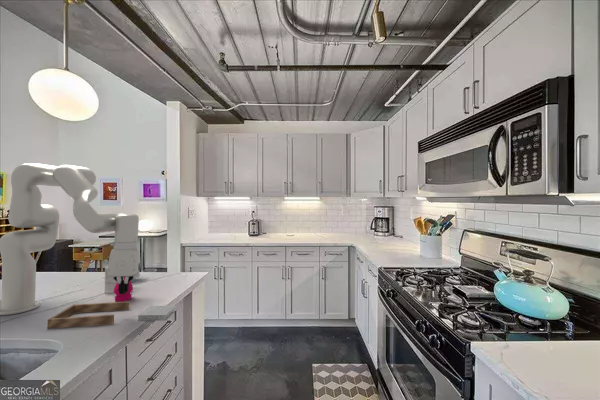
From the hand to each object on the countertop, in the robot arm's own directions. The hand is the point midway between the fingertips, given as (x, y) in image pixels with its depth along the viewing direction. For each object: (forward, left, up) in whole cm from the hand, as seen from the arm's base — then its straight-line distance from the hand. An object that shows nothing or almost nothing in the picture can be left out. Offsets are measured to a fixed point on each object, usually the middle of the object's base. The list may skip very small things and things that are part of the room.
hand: (123, 293), depth 103 cm
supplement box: (-15, +32, -9) cm, 36 cm away
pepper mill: (-7, +19, -9) cm, 22 cm away
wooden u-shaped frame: (-10, 0, -9) cm, 14 cm away
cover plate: (+13, -2, -9) cm, 16 cm away
